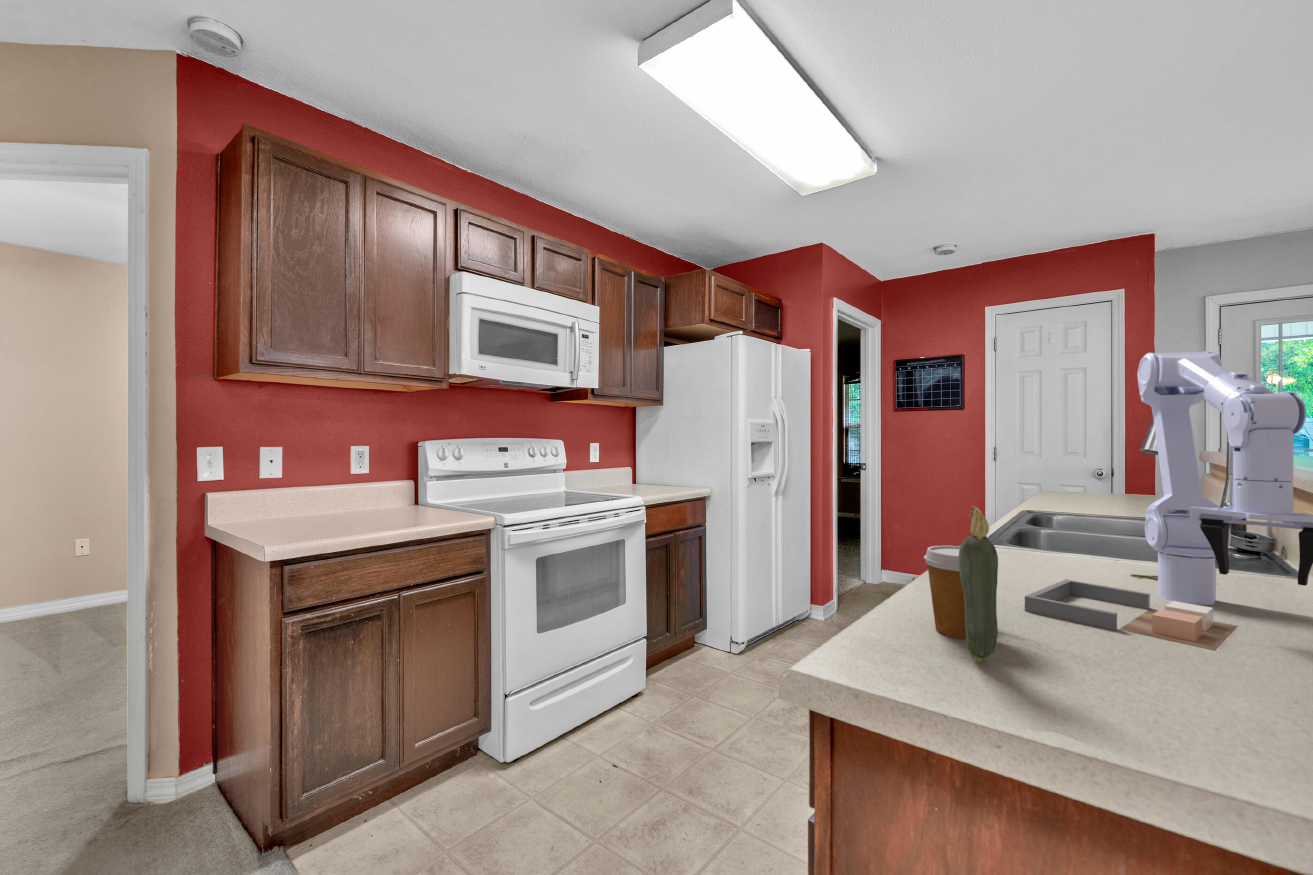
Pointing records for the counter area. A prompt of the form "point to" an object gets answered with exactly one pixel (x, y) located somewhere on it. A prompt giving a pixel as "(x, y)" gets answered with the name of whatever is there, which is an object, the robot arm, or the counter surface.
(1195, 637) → the terracotta tile
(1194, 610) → the cream tile
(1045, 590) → the tray
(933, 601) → the disposable coffee cup
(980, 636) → the vegetable
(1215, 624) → the walnut plate
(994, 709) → the counter surface
